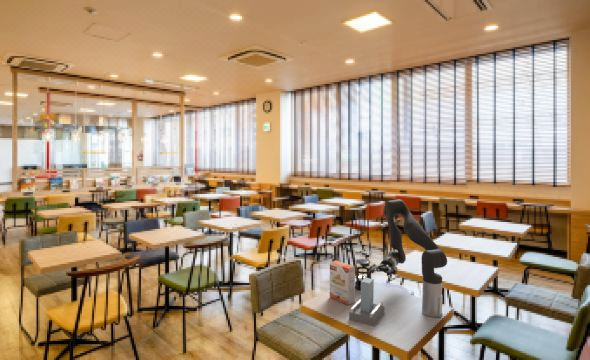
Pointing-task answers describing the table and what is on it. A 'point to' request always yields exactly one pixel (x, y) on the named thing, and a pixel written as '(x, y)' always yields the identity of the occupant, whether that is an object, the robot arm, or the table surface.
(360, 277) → the french press
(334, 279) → the cracker box
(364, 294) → the light blue rectangular block
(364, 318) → the stand
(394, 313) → the table surface
